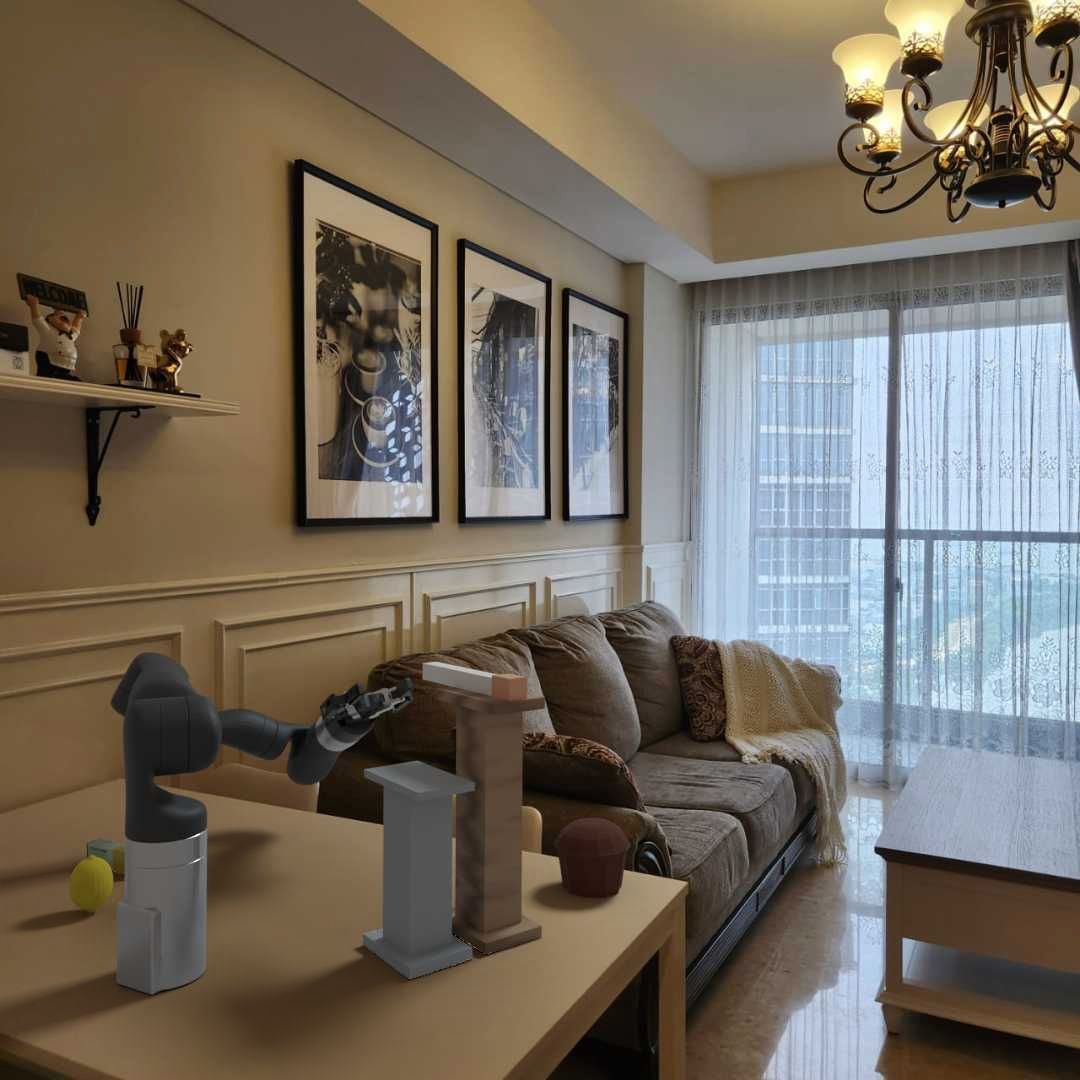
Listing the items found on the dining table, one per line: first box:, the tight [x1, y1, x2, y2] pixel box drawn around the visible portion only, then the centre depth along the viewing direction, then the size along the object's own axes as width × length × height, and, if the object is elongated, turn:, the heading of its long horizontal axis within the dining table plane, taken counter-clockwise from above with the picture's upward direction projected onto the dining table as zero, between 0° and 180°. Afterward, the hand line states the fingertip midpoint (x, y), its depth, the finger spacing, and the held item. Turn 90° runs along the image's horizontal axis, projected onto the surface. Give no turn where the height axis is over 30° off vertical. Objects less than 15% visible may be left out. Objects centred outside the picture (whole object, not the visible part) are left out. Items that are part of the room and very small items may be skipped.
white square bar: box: [422, 661, 528, 701], centre depth 128 cm, size 22×3×3 cm, turn 38°
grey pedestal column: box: [362, 760, 475, 980], centre depth 118 cm, size 14×9×22 cm, turn 38°
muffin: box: [553, 817, 632, 899], centre depth 141 cm, size 12×11×10 cm
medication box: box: [86, 838, 125, 874], centre depth 147 cm, size 12×3×4 cm, turn 64°
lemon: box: [68, 855, 114, 914], centre depth 130 cm, size 6×6×8 cm
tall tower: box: [436, 686, 546, 955], centre depth 125 cm, size 14×9×32 cm, turn 38°
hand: (385, 685), depth 145 cm, fingers open, 8 cm apart
